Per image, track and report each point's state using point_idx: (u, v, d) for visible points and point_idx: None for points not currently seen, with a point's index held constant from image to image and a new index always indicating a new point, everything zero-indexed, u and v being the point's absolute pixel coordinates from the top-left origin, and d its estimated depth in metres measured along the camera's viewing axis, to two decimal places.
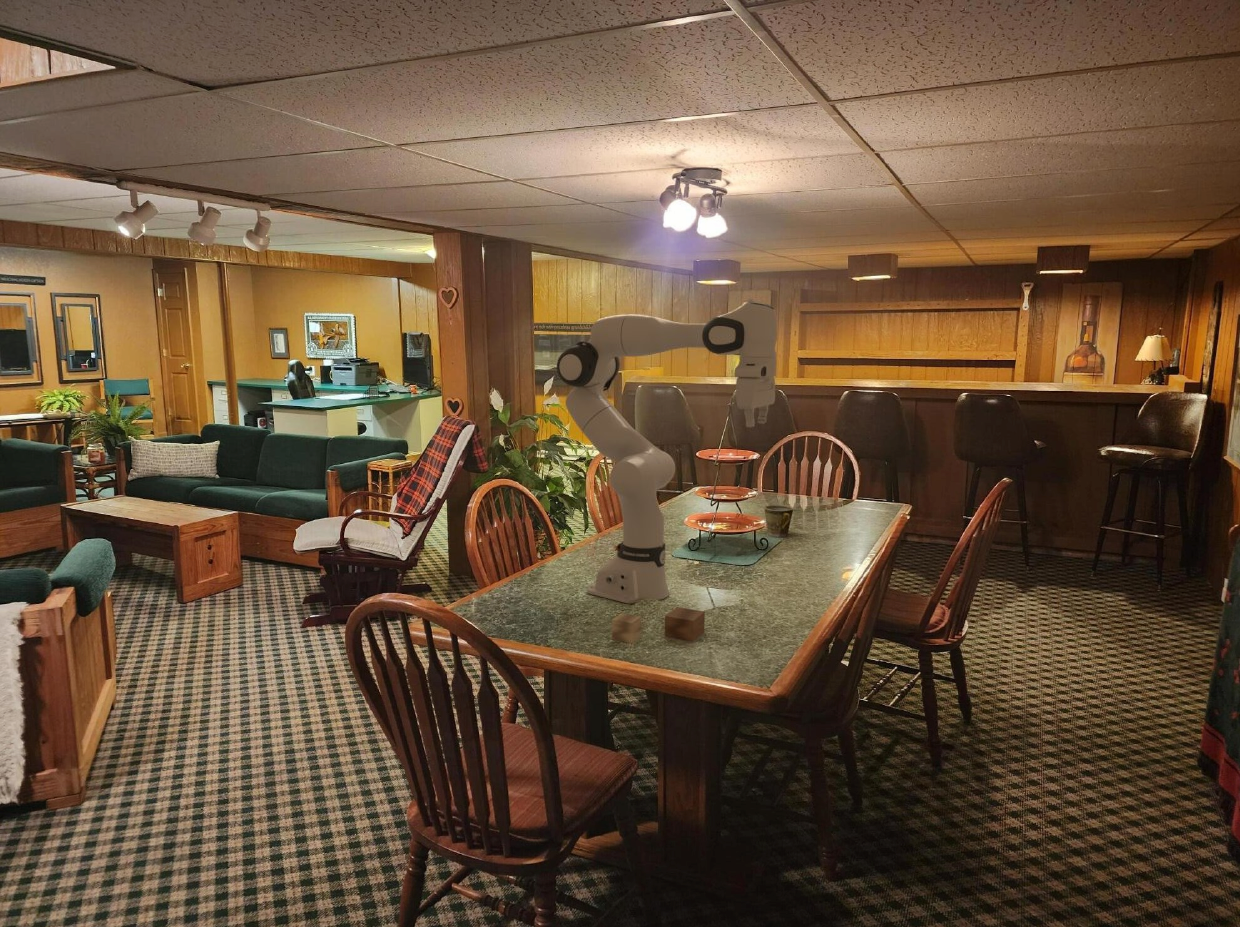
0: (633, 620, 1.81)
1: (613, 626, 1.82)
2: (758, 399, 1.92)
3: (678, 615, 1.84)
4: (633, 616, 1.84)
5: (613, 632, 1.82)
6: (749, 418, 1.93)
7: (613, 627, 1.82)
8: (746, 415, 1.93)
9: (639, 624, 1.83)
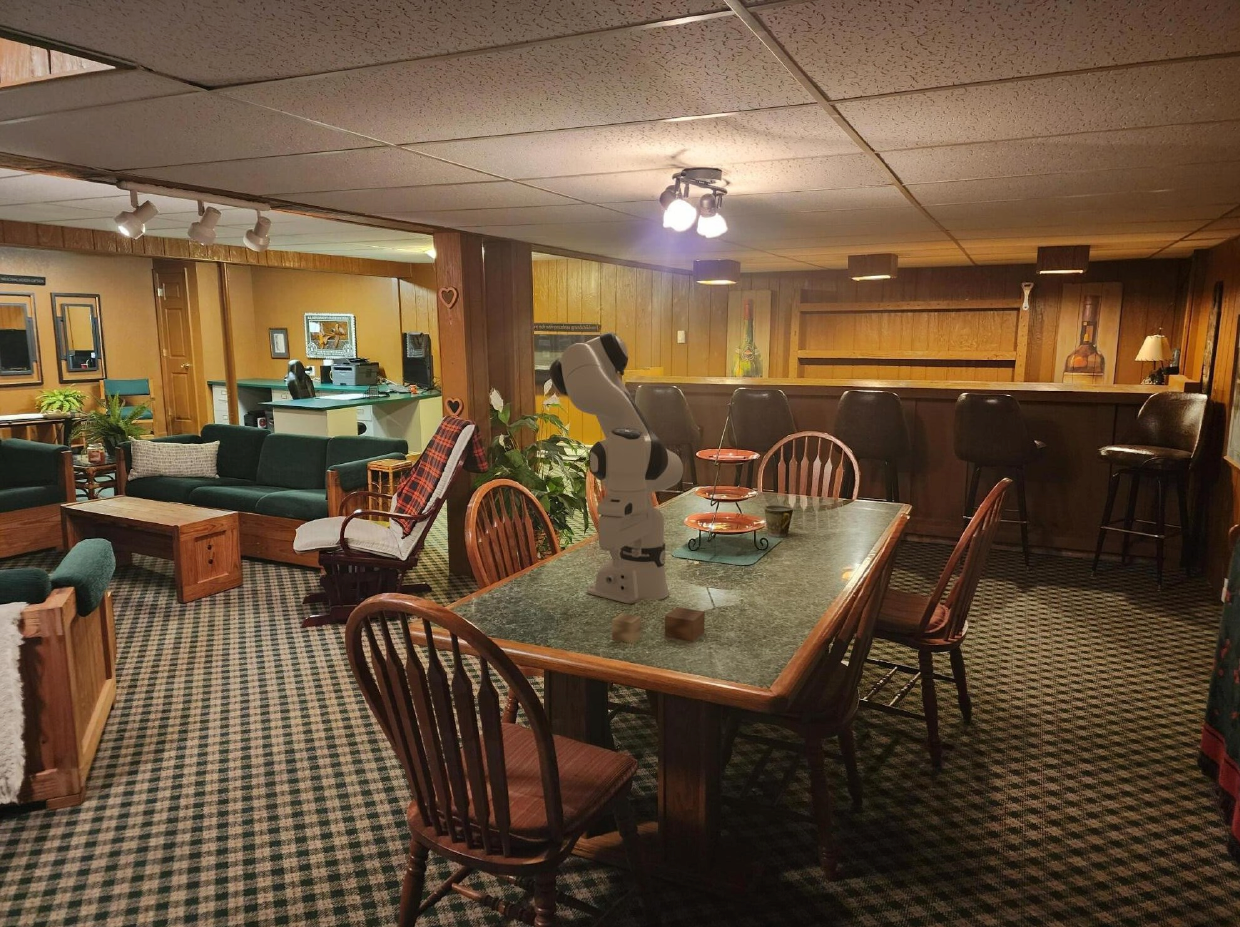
0: (633, 620, 1.81)
1: (613, 626, 1.82)
2: (624, 537, 1.75)
3: (678, 615, 1.84)
4: (633, 616, 1.84)
5: (613, 632, 1.82)
6: (615, 557, 1.76)
7: (613, 627, 1.82)
8: (612, 555, 1.75)
9: (639, 624, 1.83)
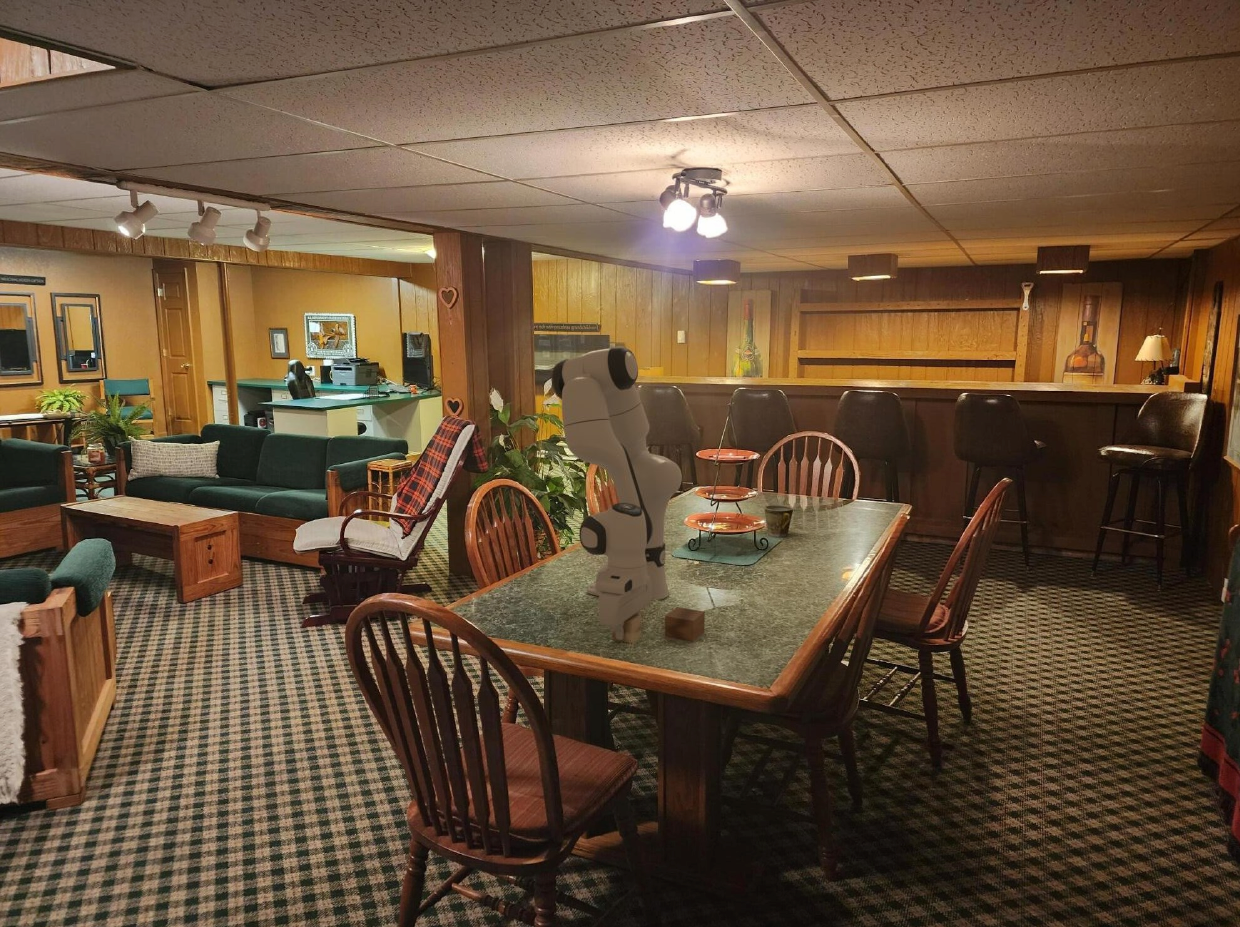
0: (633, 620, 1.81)
1: None
2: (624, 612, 1.78)
3: (678, 615, 1.84)
4: (633, 616, 1.84)
5: (613, 631, 1.82)
6: (618, 630, 1.79)
7: None
8: (615, 627, 1.79)
9: (639, 624, 1.83)
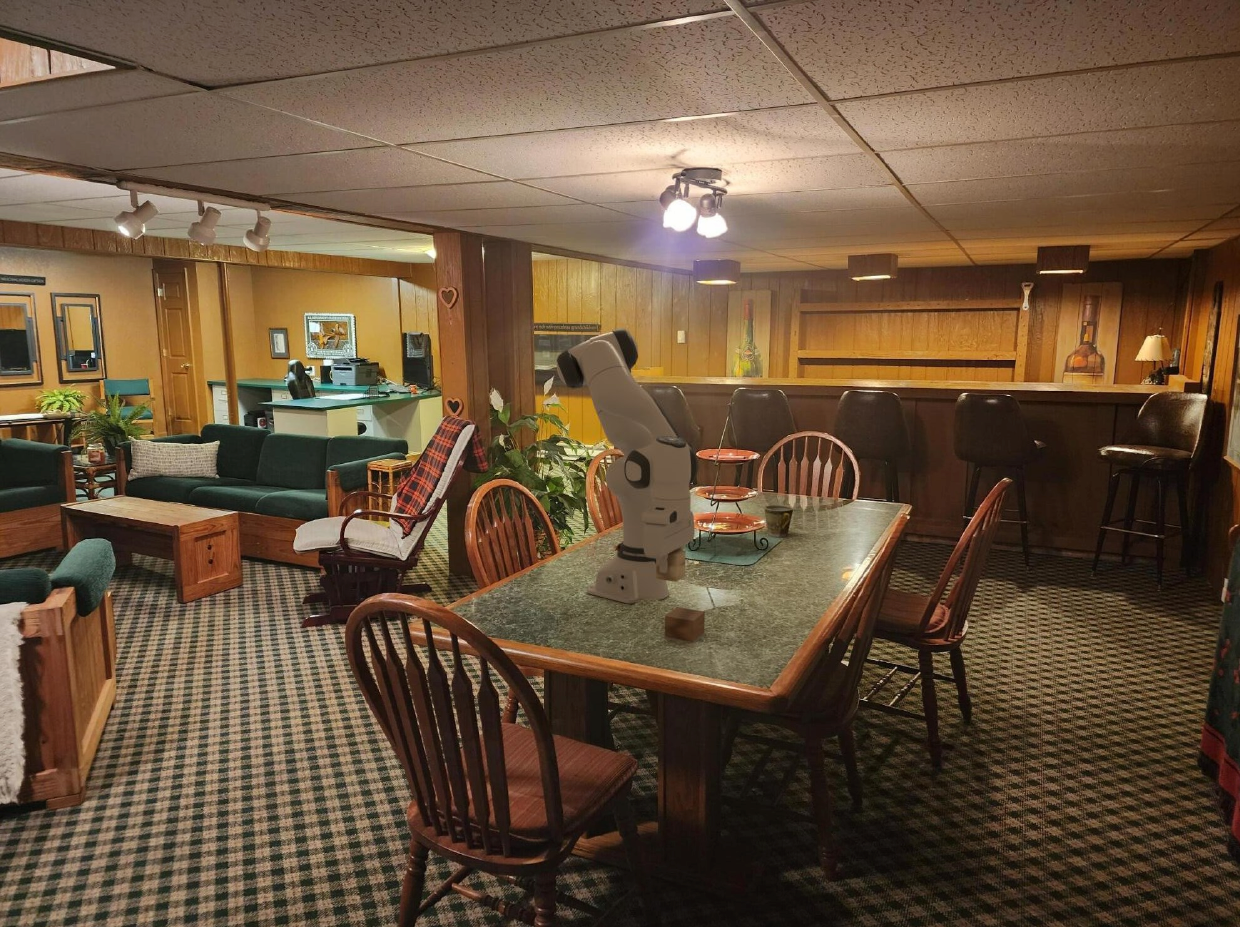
0: (677, 553, 1.81)
1: (657, 560, 1.81)
2: (669, 544, 1.77)
3: (678, 615, 1.84)
4: (677, 550, 1.83)
5: (658, 565, 1.81)
6: (662, 563, 1.79)
7: (657, 561, 1.81)
8: (659, 560, 1.79)
9: (683, 558, 1.82)
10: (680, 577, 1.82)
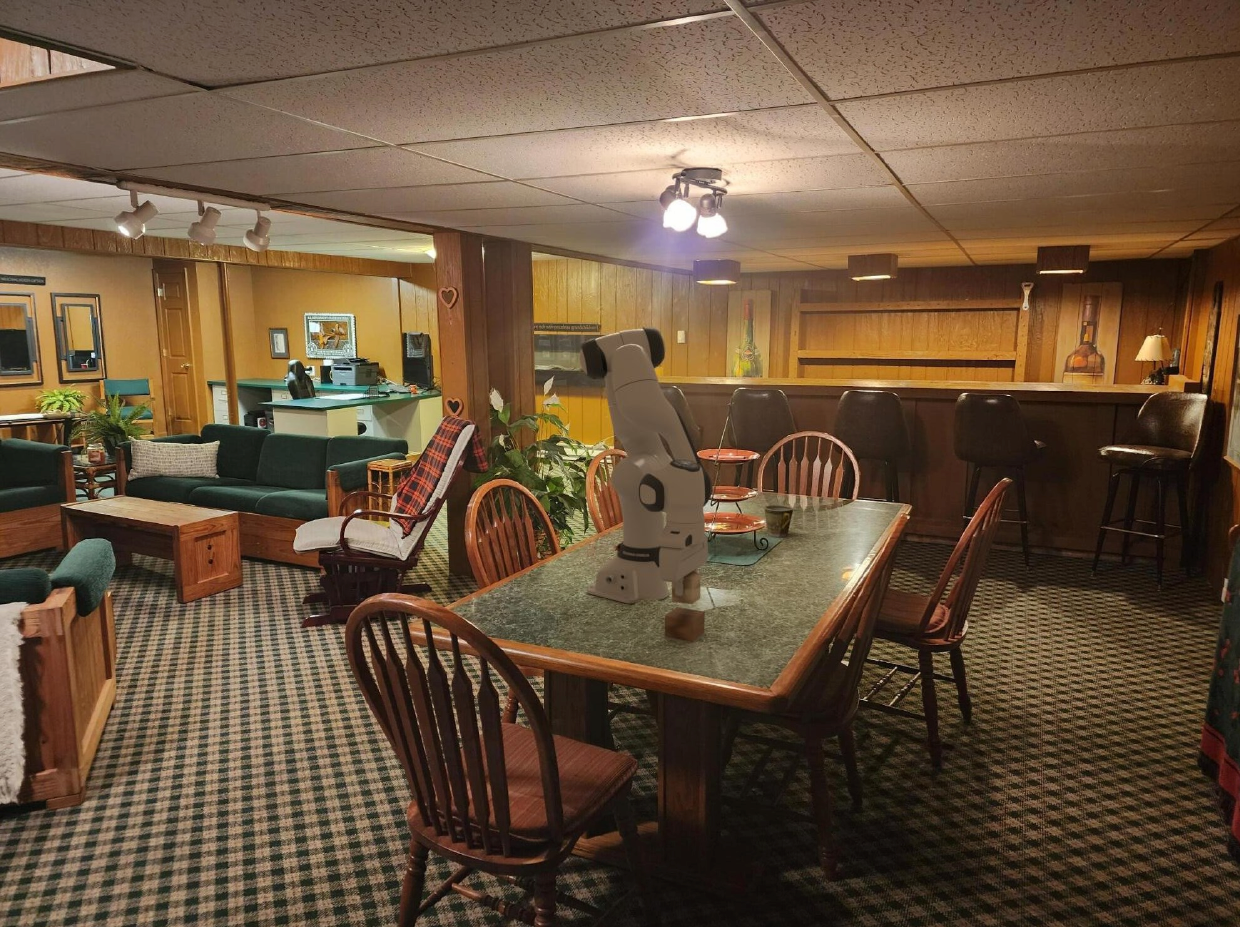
0: (693, 576, 1.82)
1: None
2: (684, 568, 1.78)
3: (678, 615, 1.84)
4: (692, 573, 1.84)
5: (673, 588, 1.83)
6: (677, 586, 1.80)
7: (673, 584, 1.82)
8: (675, 583, 1.80)
9: (698, 581, 1.84)
10: (695, 599, 1.83)
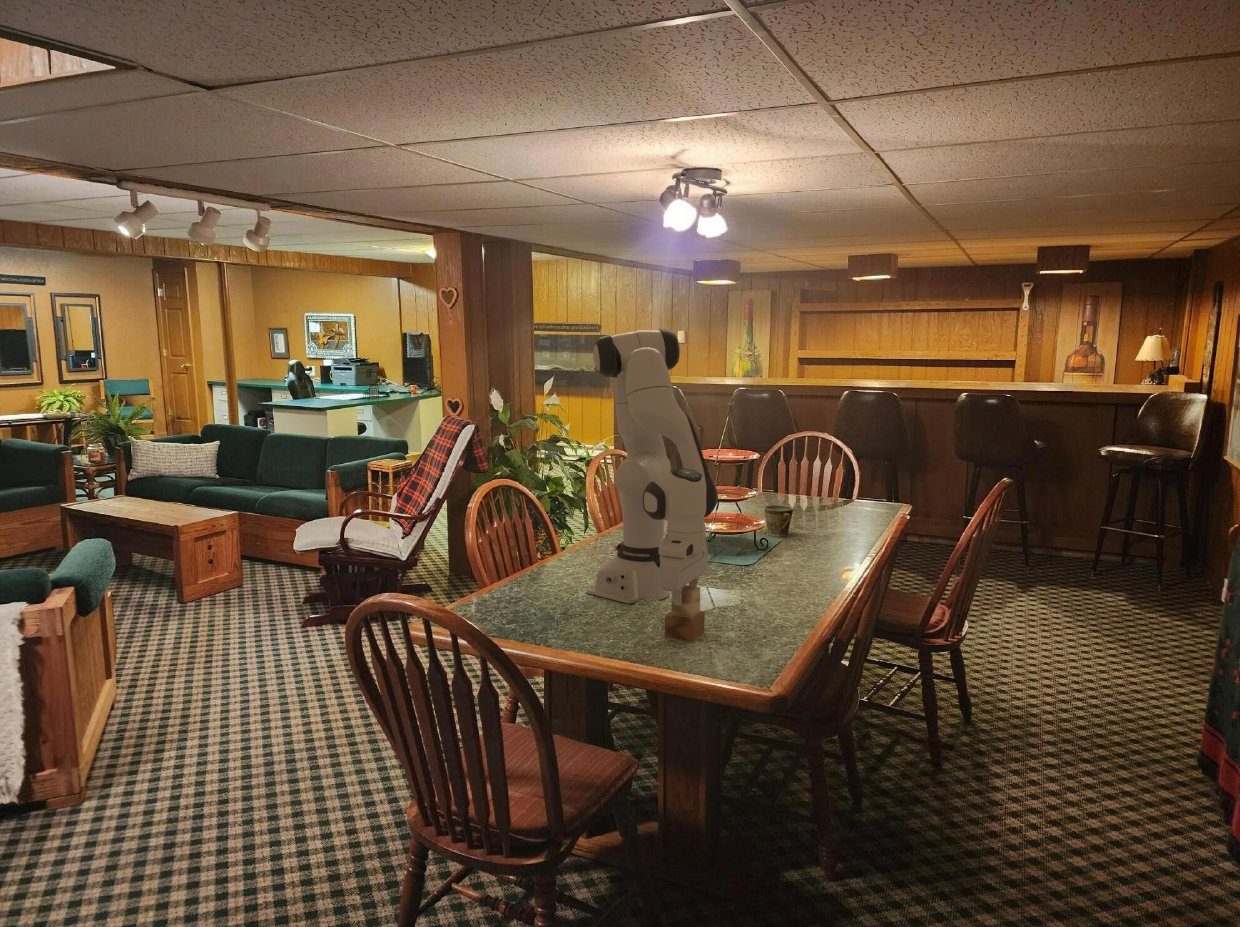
0: (693, 591, 1.82)
1: (673, 597, 1.83)
2: (685, 577, 1.79)
3: None
4: (692, 587, 1.85)
5: (673, 602, 1.83)
6: (676, 596, 1.80)
7: (673, 598, 1.83)
8: (673, 593, 1.80)
9: (698, 595, 1.84)
10: (695, 614, 1.84)
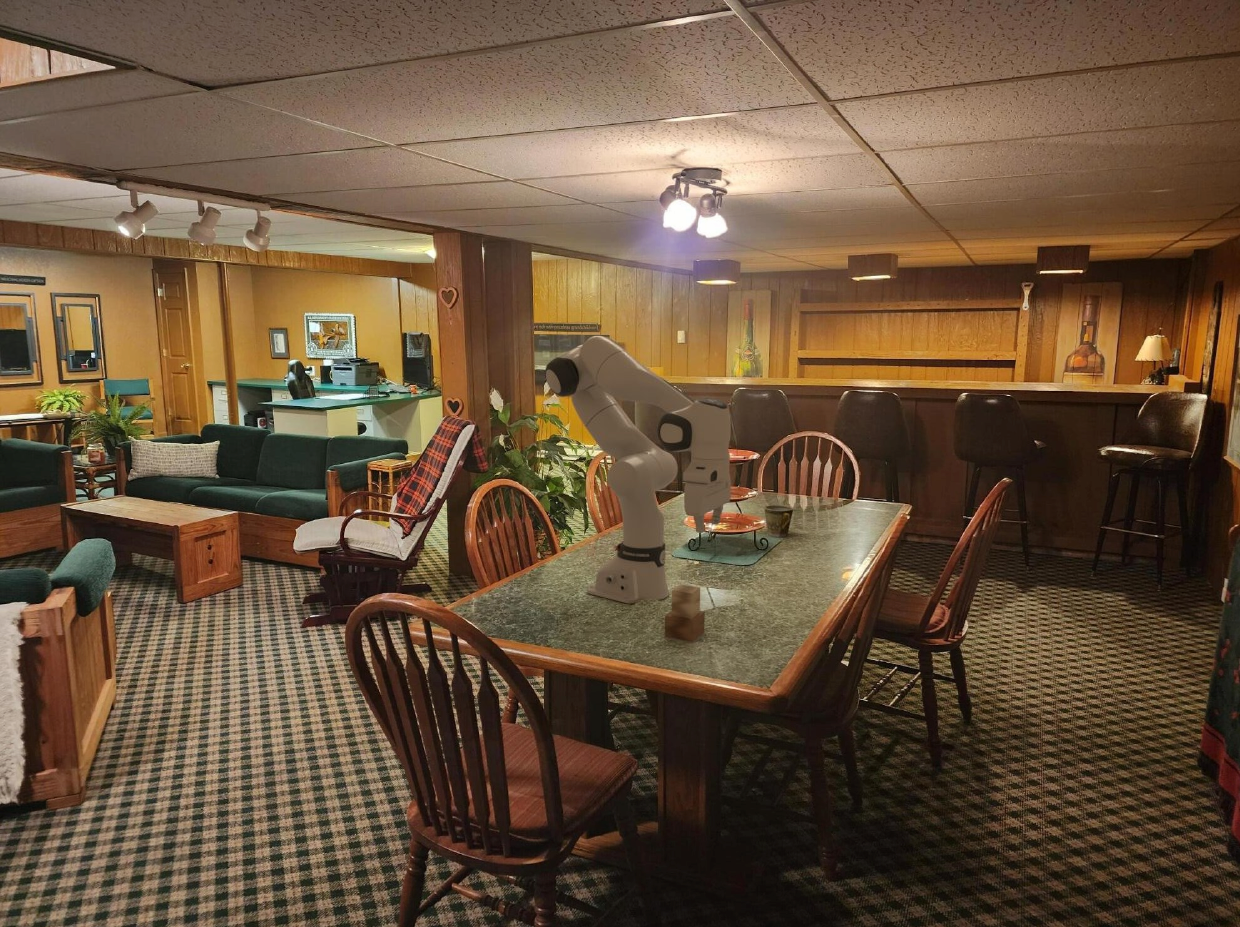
0: (693, 591, 1.82)
1: (673, 597, 1.83)
2: (708, 503, 1.81)
3: None
4: (692, 587, 1.85)
5: (673, 602, 1.83)
6: (698, 523, 1.81)
7: (673, 598, 1.83)
8: (696, 520, 1.81)
9: (698, 595, 1.84)
10: (695, 614, 1.84)
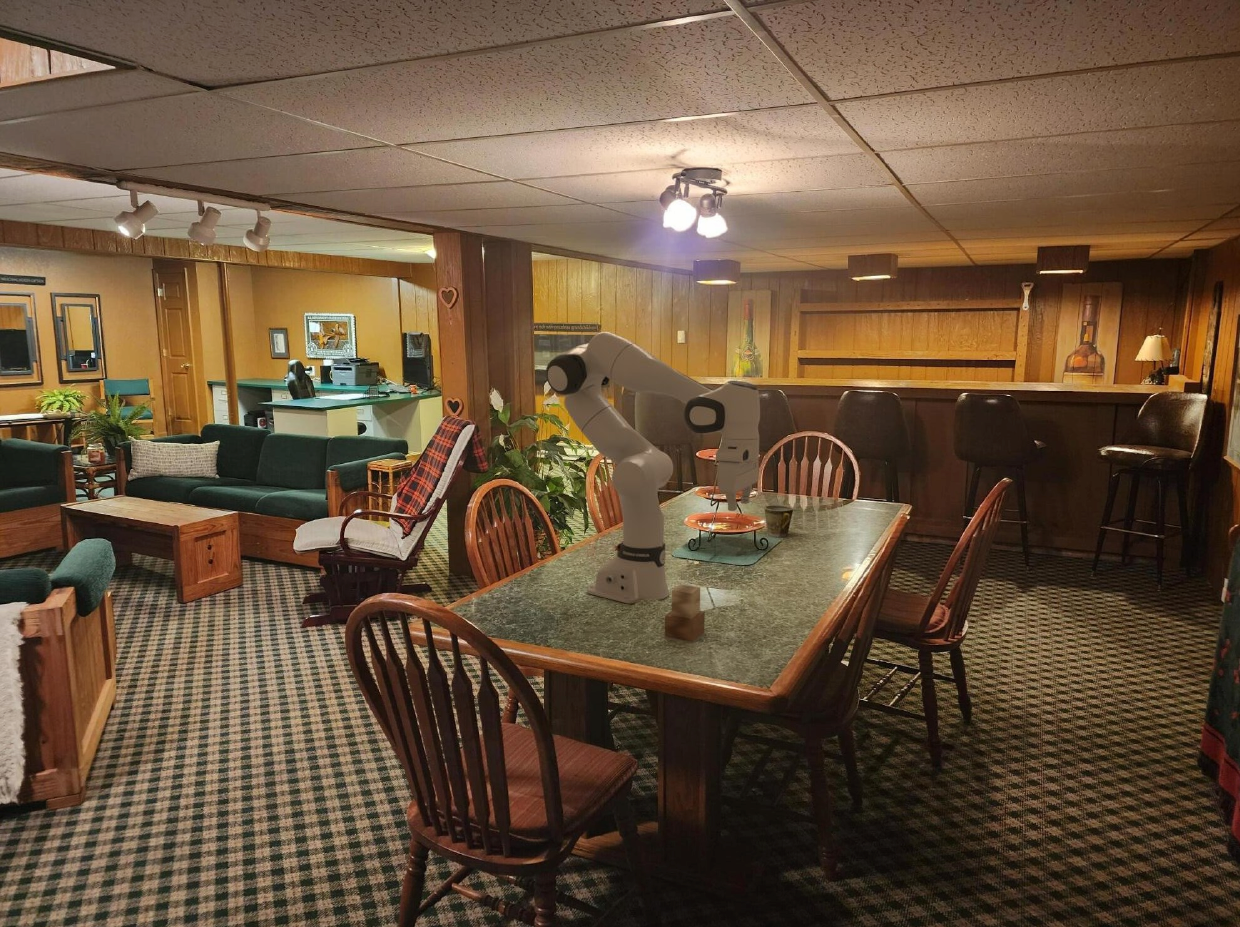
0: (693, 591, 1.82)
1: (673, 597, 1.83)
2: (740, 482, 1.87)
3: None
4: (692, 587, 1.85)
5: (673, 602, 1.83)
6: (731, 501, 1.87)
7: (673, 598, 1.83)
8: (728, 499, 1.87)
9: (698, 595, 1.84)
10: (695, 614, 1.84)
